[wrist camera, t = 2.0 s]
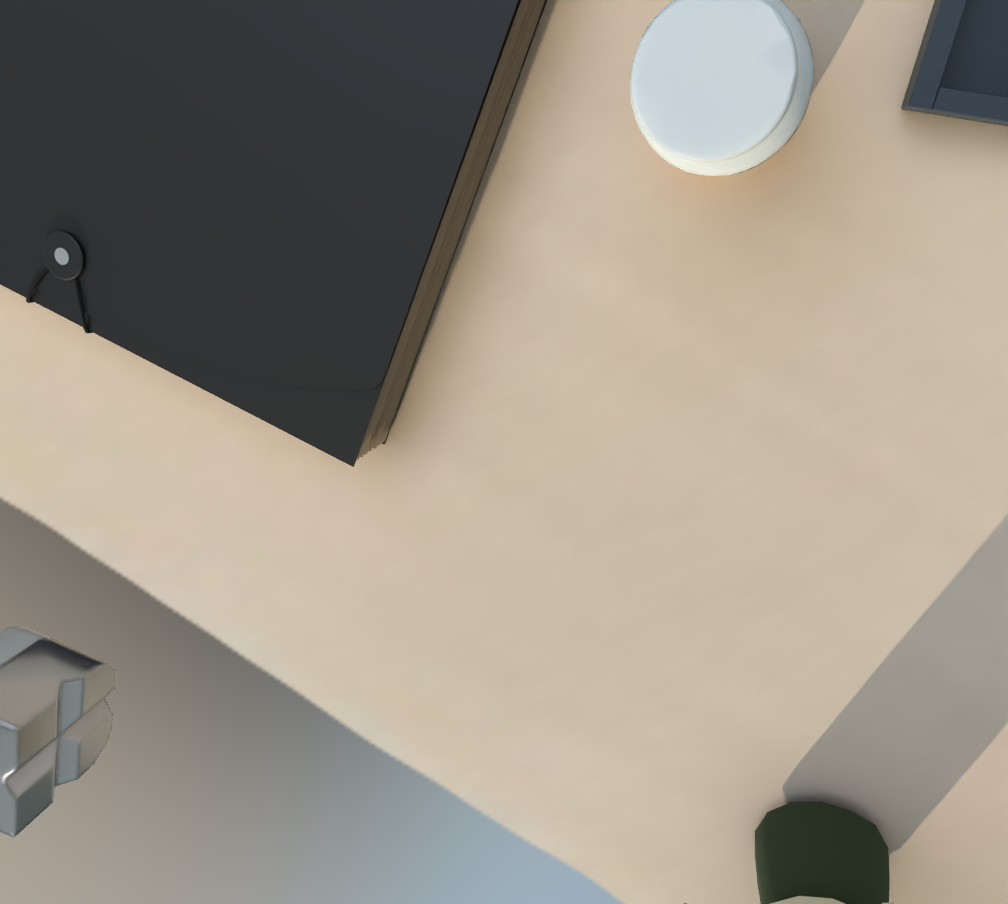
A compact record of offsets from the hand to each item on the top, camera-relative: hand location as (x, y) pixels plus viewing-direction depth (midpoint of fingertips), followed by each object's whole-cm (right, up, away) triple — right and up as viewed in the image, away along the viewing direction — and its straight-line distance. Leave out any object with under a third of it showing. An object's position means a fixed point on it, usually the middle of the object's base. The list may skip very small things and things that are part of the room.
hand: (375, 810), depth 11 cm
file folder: (-14, +23, +29) cm, 39 cm away
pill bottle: (+11, +19, +22) cm, 31 cm away
